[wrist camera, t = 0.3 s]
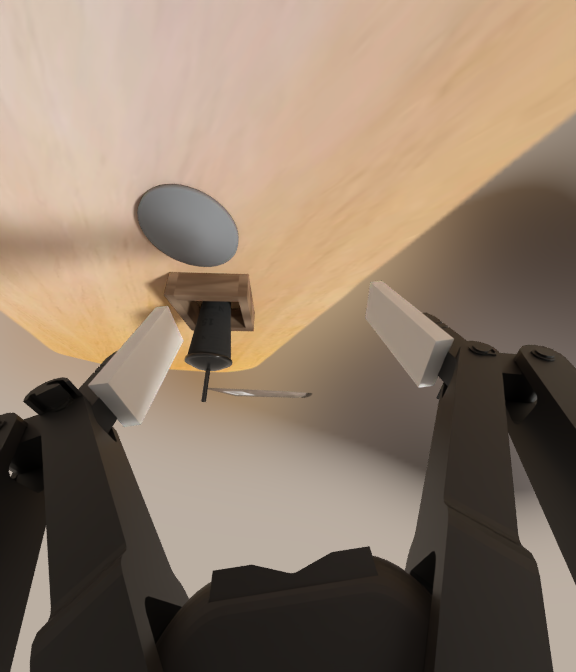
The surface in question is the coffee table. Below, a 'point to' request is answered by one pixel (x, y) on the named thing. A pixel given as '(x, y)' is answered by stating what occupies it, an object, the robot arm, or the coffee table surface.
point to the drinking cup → (211, 340)
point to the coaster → (188, 225)
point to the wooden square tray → (211, 296)
